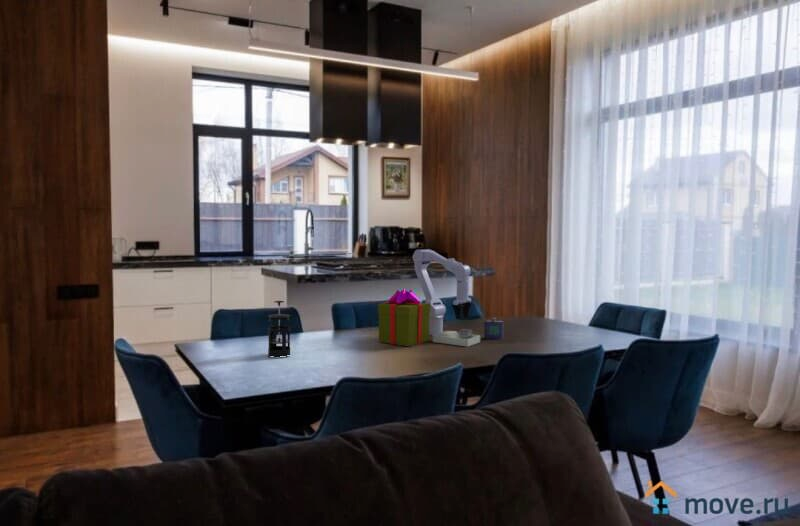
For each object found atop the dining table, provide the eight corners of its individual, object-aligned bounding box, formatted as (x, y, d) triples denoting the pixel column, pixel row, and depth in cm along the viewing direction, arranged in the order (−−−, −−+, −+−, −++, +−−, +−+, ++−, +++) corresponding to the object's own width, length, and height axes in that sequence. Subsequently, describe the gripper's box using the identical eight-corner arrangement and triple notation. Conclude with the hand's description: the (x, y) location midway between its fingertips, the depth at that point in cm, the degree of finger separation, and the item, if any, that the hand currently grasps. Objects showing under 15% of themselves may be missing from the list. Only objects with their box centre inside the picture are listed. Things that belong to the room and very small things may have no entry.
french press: (295, 356, 238) (295, 301, 237) (274, 359, 233) (274, 303, 231) (282, 351, 248) (282, 298, 246) (262, 354, 242) (261, 300, 241)
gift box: (393, 336, 285) (393, 286, 283) (432, 340, 276) (433, 288, 274) (374, 344, 266) (374, 290, 265) (415, 348, 257) (416, 292, 256)
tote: (432, 342, 270) (432, 335, 269) (446, 338, 281) (446, 331, 280) (467, 347, 259) (467, 339, 259) (480, 343, 270) (480, 335, 270)
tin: (458, 343, 267) (458, 330, 266) (463, 341, 271) (463, 328, 270) (467, 344, 264) (467, 331, 264) (472, 342, 268) (472, 329, 268)
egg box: (439, 341, 271) (439, 332, 270) (447, 338, 277) (447, 330, 277) (448, 342, 268) (448, 334, 268) (456, 339, 274) (457, 331, 274)
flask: (502, 338, 281) (503, 317, 281) (503, 340, 278) (504, 318, 278) (483, 338, 282) (484, 317, 281) (484, 339, 279) (484, 317, 278)
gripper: (462, 292, 269) (462, 320, 270) (476, 289, 281) (476, 317, 282) (449, 291, 273) (449, 319, 274) (464, 288, 285) (463, 315, 286)
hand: (462, 318), depth 278 cm, fingers open, 7 cm apart
